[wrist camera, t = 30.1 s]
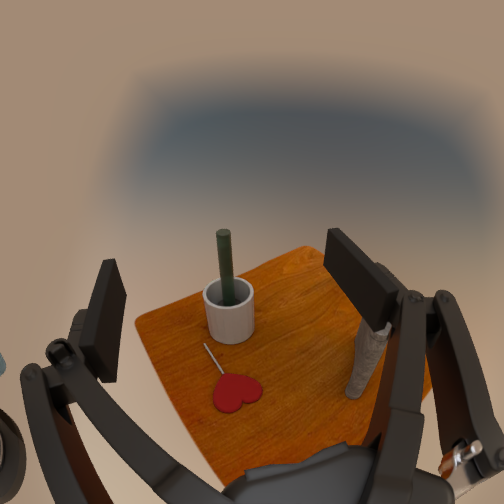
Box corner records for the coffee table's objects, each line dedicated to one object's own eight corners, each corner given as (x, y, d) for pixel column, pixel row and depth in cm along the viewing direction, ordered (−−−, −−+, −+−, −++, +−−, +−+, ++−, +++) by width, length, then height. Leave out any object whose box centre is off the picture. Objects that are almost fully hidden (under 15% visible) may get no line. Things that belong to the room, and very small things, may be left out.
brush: (215, 331, 53) (202, 237, 42) (224, 314, 56) (214, 223, 46) (239, 336, 51) (232, 241, 41) (247, 319, 55) (243, 226, 45)
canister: (201, 338, 52) (194, 302, 47) (218, 308, 59) (214, 273, 54) (246, 348, 50) (244, 313, 45) (259, 316, 57) (259, 280, 52)
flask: (373, 339, 50) (399, 260, 40) (364, 401, 38) (404, 325, 29) (355, 335, 51) (377, 256, 41) (343, 397, 40) (375, 319, 30)
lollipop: (184, 353, 49) (222, 418, 38) (183, 350, 48) (221, 415, 37) (224, 337, 52) (267, 395, 41) (223, 334, 52) (268, 393, 40)
